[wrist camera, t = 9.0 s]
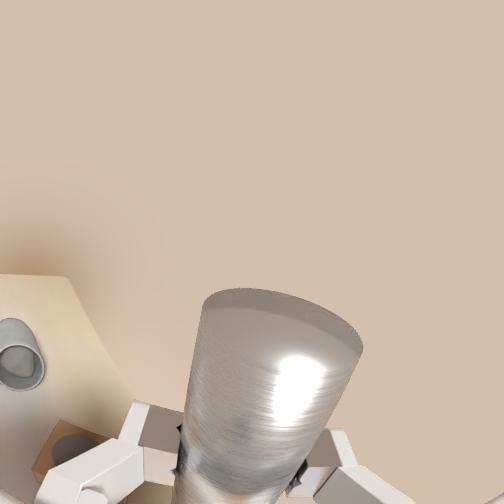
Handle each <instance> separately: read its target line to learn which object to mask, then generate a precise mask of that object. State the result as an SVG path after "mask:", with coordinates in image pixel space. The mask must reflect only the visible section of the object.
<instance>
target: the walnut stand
mask: <svg viewBox="0 0 504 504" xmlns="http://www.w3.org/2000/svg"><path fill="white" fill-rule="evenodd" d="M107 440H109V438H106V437H103V436H100V435H98V434H95V433H92V432H89V431H87V430H84V429H81V428H79V427H76V426H74V425H71V424H69V423H67V422H64V421H62V420H59V421H58V423H57V425H56V426H55V428H54V430H53V432H52V433H51V435H50V437H49V438H48V440H47V442H46V444H45V445H44V447H43V449H42V451H41V453H40V454H39V456H38V458H37V460H36V462H35V464H34V465H33V467H32V471H33V473H34V475H35V476H36V478H37V480H38V482H39V483H40V485H42V483H43V481H44V479H45V477H46V475H47V473H48V471H49V470H50V469H52V468H55V467H57V466H59V465H61V464H63V463H65V462H67V461H69V460H71V459H73V458H75V457H77V456H79V455H81V454H83V453H85V452H87V451H89V450H91V449H92V448H94V447H96V446H98V445H100V444H102V443H104V442H106V441H107ZM127 496H128V495H127ZM127 496H126V497H125V498H123V499H122V500H121V501H120V502H118V503H117V504H126V500H127Z"/></svg>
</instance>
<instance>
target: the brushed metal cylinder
mask: <svg viewBox="0 0 504 504" xmlns="http://www.w3.org/2000/svg"><path fill="white" fill-rule="evenodd" d="M362 352H363V344H362V341H361V338H360V336H359V335H358V333H357V332H356V331H355V330H354V329H353V327H352V326H350V324H348V323H347V322H346V321H344V320H343V319H342V318H340V317H339V316H337V315H336V314H334V313H332V312H331V311H329V310H327V309H325V308H323V307H321V306H319V305H316V304H314V303H312V302H309V301H307V300H304V299H301V298H298V297H295V296H291V295H287V294H284V293H279V292H275V291H269V290H262V289H251V288H236V289H227V290H222V291H219V292H216V293H214V294H212V295H211V296H209V297H208V298H207V299H206V300H205V302H204V304H203V306H202V312H201V317H200V322H199V327H198V333H197V338H196V343H195V349H194V355H193V360H192V367H191V372H190V377H189V383H188V390H187V395H186V402H185V408H184V414H183V420H182V427H181V440H180V447H179V454H178V461H177V468H176V474H175V480H174V486H173V492H172V501H171V504H275V502H276V501H277V500H278V498H279V497H280V495H281V494H282V493H283V491H284V490H285V488H286V487H287V486H288V484H289V483H290V481H291V480H292V478H293V477H294V475H295V474H296V472H297V471H298V469H299V468H300V466H301V465H302V463H303V462H304V460H305V459H306V457H307V455H308V454H309V452H310V451H311V449H312V447H313V446H314V444H315V442H316V441H317V439H318V437H319V436H320V434H321V432H322V430H323V429H324V427H325V425H326V423H327V422H328V420H329V418H330V416H331V414H332V412H333V410H334V409H335V407H336V405H337V403H338V401H339V400H340V398H341V396H342V394H343V392H344V390H345V388H346V386H347V384H348V382H349V380H350V378H351V376H352V373H353V372H354V369H355V367H356V365H357V363H358V361H359V358H360V356H361V354H362Z"/></svg>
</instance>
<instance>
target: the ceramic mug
mask: <svg viewBox="0 0 504 504" xmlns="http://www.w3.org/2000/svg"><path fill="white" fill-rule="evenodd" d="M43 375H44V362H43V358H42V356H41V354H40V351H39V348H38V345H37V343H36V340H35V337H34V335H33V333H32V331H31V330H30V328H29V327H28V326H27V325H26V324H25V323H24V322H23V321H21V320H19V319H15V318H7V319H4V320H2V321H0V383H1V384H2V385H3V386H5V387H6V388H8V389H11V390H14V391H27V390H30V389H32V388H34V387H36V386H37V385H38V384H39V383H40V381H41V380H42V378H43Z"/></svg>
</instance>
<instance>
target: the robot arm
mask: <svg viewBox="0 0 504 504" xmlns="http://www.w3.org/2000/svg"><path fill="white" fill-rule="evenodd" d="M183 414H184V413H182V412H179V411H174V410H170V409H167V408H162V407H159V406H155V405H150V404H147V403H144V402H140V401H137V400H134V401H133V402H132V403H131V406H130V408H129V411H128V413H127V416H126V418H125V421H124V423H123V426H122V428H121V431H120V433H119V436H118V439H114V438H111V439H109V440H107V441H106V442H104V443H102V444H100V445H98V446H96V447H94V448H92V449H91V450H89V451H87V452H85V453H83V454H81V455H79V456H77V457H75V458H73V459H71V460H69V461H67V462H65V463H63V464H61V465H59V466H57V467H55V468H52V469H50V470H49V471H48V473H47V475H46V477H45V479H44V481H43V483H42V485H41V487H40V489H39V491H38V493H37V495H36V497H35V499H34V501H33V504H117V503H118V502H120V501H121V500H122V499H123V498H125V497H126V496H127V495H128V494H130V493H131V492H132V491H133V490H135V489H136V488H137V487H138V486H140V485H141V484H142V483H143V482H144V480H145V481H149V482H154V483H158V484H163V485H168V486H174V480H175V474H176V468H177V461H178V454H179V447H180V440H181V427H182V420H183ZM285 491H286V497H287V498H308V497H309V498H310V497H311V498H313V497H314V498H313V500H314V501H315V502H316V503H317V504H416V503H415V501H413V500H411V499H410V498H409V497H407V496H405V495H404V494H403V493H401V492H400V491H398V490H397V489H395V488H394V487H392V486H391V485H389V484H388V483H386V482H385V481H384V480H382V479H381V478H379V477H378V476H377V475H375V474H374V473H373V472H371V471H370V470H368V469H367V468H366V467H364V466H363V465H358V463H357V460H356V458H355V456H354V453H353V451H352V448H351V446H350V443H349V441H348V438H347V436H346V434H345V431H344V430H343V429H342V428H331V429H330V428H327V429H326V428H324V429H323V430H322V432H321V434H320V436H319V437H318V439H317V441H316V442H315V444H314V446H313V447H312V449H311V451H310V452H309V454H308V455H307V457H306V459H305V460H304V462H303V463H302V465H301V466H300V468H299V469H298V471H297V472H296V474H295V475H294V477H293V478H292V480H291V481H290V483H289V484H288V486H287V487H286V488H285ZM0 504H25V503H23V502H21V501H19V500H18V499H16V498H14V497H13V496H11V495H10V494H8V493H6V492H5V491H3V490H2V489H0ZM486 504H504V493H502V494H501V495H499V496H497V497H496V498H494V499H493V500H491V501H489V502H487V503H486Z"/></svg>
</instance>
